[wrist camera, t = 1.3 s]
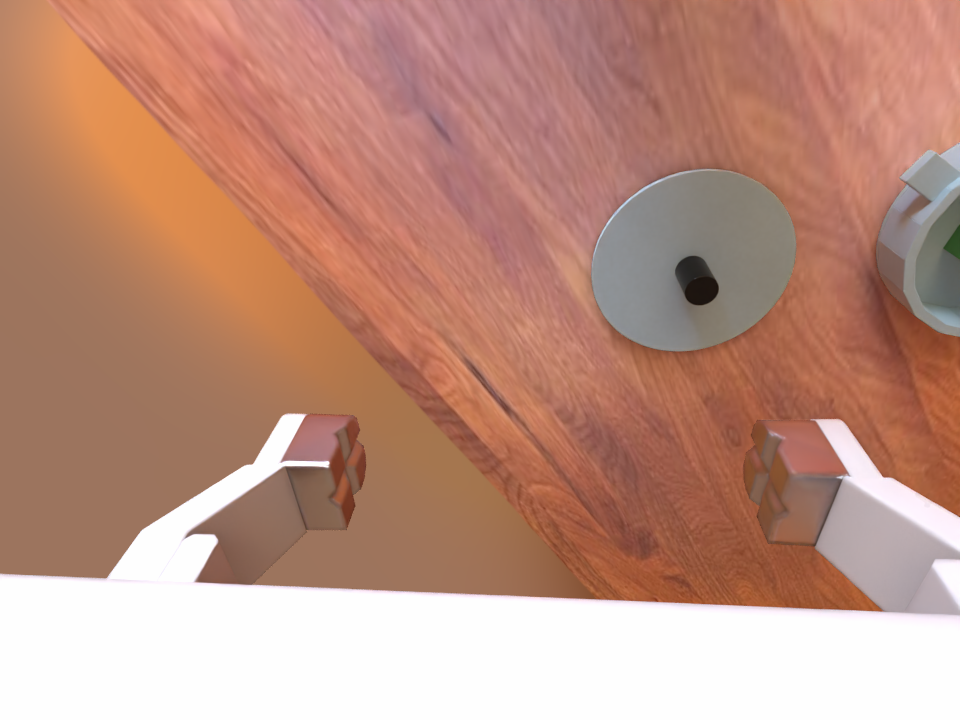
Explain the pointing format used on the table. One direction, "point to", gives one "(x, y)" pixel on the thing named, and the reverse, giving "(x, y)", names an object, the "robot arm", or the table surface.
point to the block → (954, 244)
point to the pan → (925, 241)
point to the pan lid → (693, 260)
